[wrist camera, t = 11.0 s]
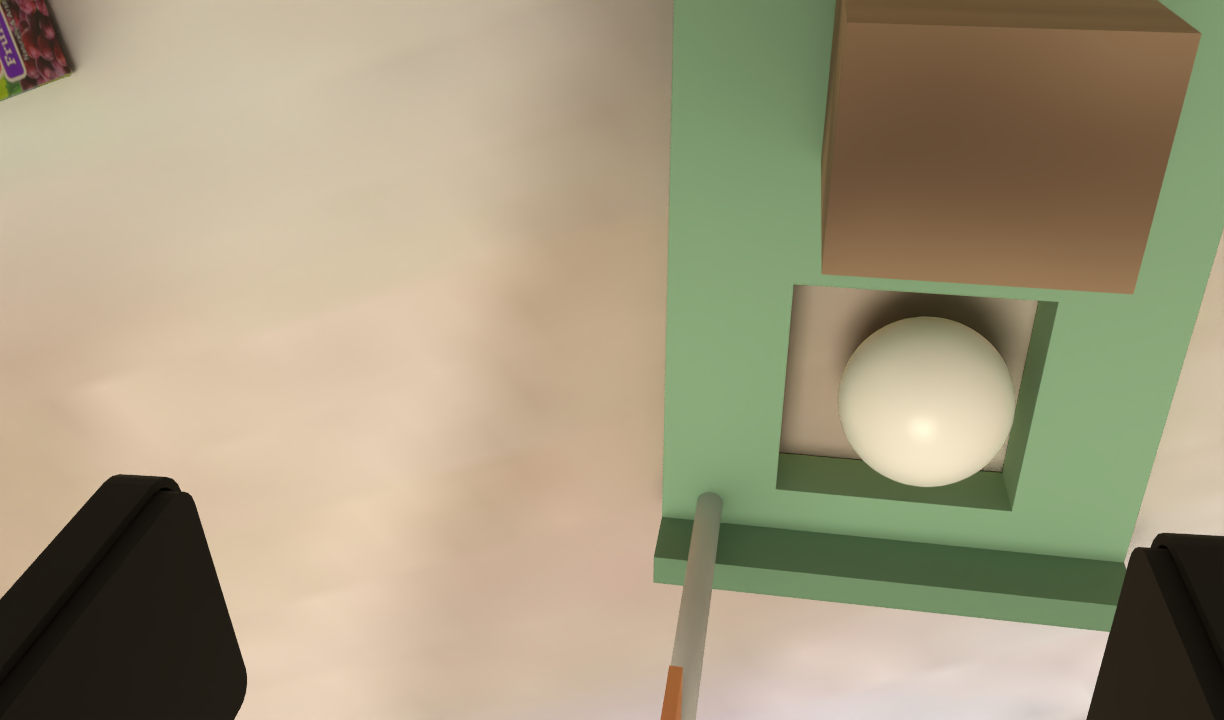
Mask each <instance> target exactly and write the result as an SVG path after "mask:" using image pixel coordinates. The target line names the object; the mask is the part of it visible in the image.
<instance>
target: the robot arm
mask: <svg viewBox="0 0 1224 720" xmlns="http://www.w3.org/2000/svg"><path fill="white" fill-rule="evenodd" d="M246 687H247V673H246V668H245V665H244V662H243V658H242V655H241V652H240V649H239V645H238V642H237V639H236V636H235V632H234V629H233V626H232V623H231V619H230V616H229V613H228V609H227V606H226V603H225V600H224V596H223V593H222V590H221V587H220V583H219V580H218V577H217V574H216V570H215V567H214V564H213V561H212V557H211V554H210V551H209V547H208V544H207V541H206V538H205V534H204V531H203V528H202V525H201V521H200V518H199V515H198V512H197V508H196V505H195V502H194V500H193V498H192V496H191V495H190V494H189V493H186V492H181V490H180V488H179V485H178V484H177V483H176V482H175V481H174V480H173V479H172V478H168V477H157V476H140V475H122V474H119V475H115V476H112V477H110V478H109V479H108V480H107V481H105V482H104V483H103V484H102V486H101V487H100V488H99V489H98V490H97V491H96V492H95V493H94V495H93V496H92V497H91V498H90V499H89V500H88V501H87V502H86V504H85V505H84V506H83V507H82V508H81V509H80V510H79V511H78V513H77V514H76V515H75V516H74V517H73V518H72V519H71V520H70V522H69V523H68V524H67V525H66V526H65V527H64V528H63V529H62V531H61V532H60V533H59V534H58V535H57V536H56V537H55V538H54V540H53V541H52V542H51V543H50V544H49V545H48V546H47V547H46V549H45V550H44V551H43V552H42V553H41V554H40V555H39V556H38V558H37V559H36V560H35V561H34V562H33V563H32V564H31V566H30V567H29V568H28V569H27V570H26V571H25V572H24V573H23V575H22V576H21V577H20V578H19V579H18V580H17V581H16V582H15V584H14V585H13V586H12V587H11V588H10V589H9V590H8V591H7V593H6V594H5V595H4V596H3V597H2V598H1V599H0V720H234V719H235V717H236V715H237V713H238V711H239V710H240V708H241V705H242V703H243V701H244V697H245V694H246ZM1086 720H1224V536H1211V535H1193V534H1175V533H1161V534H1158V535H1157V536H1156V537H1155V539H1154V540H1153V543H1152V545H1151V548H1144V547H1138V548H1135V549H1134V550H1133V552H1132V554H1131V556H1130V559H1129V563H1128V567H1127V570H1126V574H1125V578H1124V581H1123V585H1122V589H1121V593H1120V596H1119V600H1118V604H1117V608H1116V611H1115V615H1114V619H1113V622H1112V626H1111V630H1110V634H1109V637H1108V641H1107V645H1106V649H1105V652H1104V656H1103V660H1102V663H1101V667H1100V671H1099V675H1098V678H1097V682H1096V686H1095V690H1094V693H1093V697H1092V701H1091V704H1090V708H1089V712H1088V716H1087V719H1086Z"/></svg>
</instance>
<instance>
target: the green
mask: <svg viewBox="0 0 1224 720" xmlns="http://www.w3.org/2000/svg"><path fill="white" fill-rule="evenodd" d="M1158 1H1159V2H1160V3H1162V4H1163V5H1164V6H1166V7H1167V8H1168V9H1170V10H1171V11H1172V12H1174V13H1175V14H1176V15H1178V16H1179V17H1180V18H1182V19H1183V20H1184V21H1186V22H1187V23H1188V24H1190V25H1191V26H1192V27H1194V28H1195V29H1196V30H1198V31H1199V32H1200V33H1202V34H1201V38H1200V42H1199V46H1198V50H1197V53H1196V57H1195V61H1194V65H1193V69H1192V72H1191V76H1190V80H1189V84H1188V88H1187V92H1186V95H1185V99H1184V103H1183V107H1182V111H1181V115H1180V118H1179V122H1178V126H1177V130H1176V134H1175V137H1174V141H1173V145H1172V149H1171V153H1170V157H1169V160H1168V164H1167V168H1166V172H1165V176H1164V179H1163V183H1162V187H1161V191H1160V195H1159V199H1158V202H1157V206H1156V210H1155V214H1154V218H1153V221H1152V225H1151V229H1150V233H1149V237H1148V241H1147V244H1146V248H1145V252H1144V256H1143V260H1142V264H1141V267H1140V271H1139V275H1138V279H1137V283H1136V286H1135V290H1134V294H1118V293H1102V292H1087V291H1071V290H1056V289H1040V288H1025V287H1009V286H994V285H978V284H963V283H948V282H932V281H917V280H901V279H886V278H870V277H855V276H839V275H824V274H822V265H821V154H822V144H823V133H824V123H825V112H826V102H827V91H828V81H829V70H830V60H831V49H832V39H833V28H834V17H835V7H836V0H674V21H673V64H672V108H671V152H670V195H669V239H668V283H667V327H666V370H665V414H664V458H663V501H662V520H661V525H660V530H659V535H658V540H657V545H656V550H655V555H654V581H653V582H654V583H663V584H672V585H682V586H684V587H683V593H682V599H681V605H680V611H679V618H678V624H677V630H676V636H675V643H674V649H673V655H672V661H671V666H669V672H668V678H667V684H666V690H665V696H664V702H663V709H662V715H661V720H695V718H696V710H697V703H698V695H699V687H700V679H701V671H702V663H703V655H704V647H705V639H706V631H707V624H708V616H709V608H710V600H711V592H712V589H719V590H728V591H737V592H746V593H755V594H765V595H774V596H783V597H792V598H802V599H811V600H820V601H829V602H839V603H848V604H857V605H866V606H875V607H885V608H894V609H903V610H912V611H922V612H931V613H940V614H949V615H959V616H968V617H977V618H986V619H995V620H1005V621H1014V622H1023V623H1032V624H1042V625H1051V626H1060V627H1069V628H1079V629H1088V630H1097V631H1106V632H1110V630H1111V626H1112V622H1113V619H1114V615H1115V611H1116V608H1117V604H1118V600H1119V596H1120V593H1121V589H1122V585H1123V581H1124V578H1125V574H1126V567H1125V565H1124V560H1125V557H1126V553H1127V550H1128V547H1129V543H1130V540H1131V537H1132V533H1133V530H1134V527H1135V523H1136V520H1137V517H1138V513H1139V510H1140V506H1141V503H1142V500H1143V496H1144V493H1145V490H1146V486H1147V483H1148V480H1149V476H1150V473H1151V470H1152V466H1153V463H1154V459H1155V456H1156V453H1157V449H1158V446H1159V443H1160V439H1161V436H1162V433H1163V429H1164V426H1165V423H1166V419H1167V416H1168V412H1169V409H1170V406H1171V402H1172V399H1173V396H1174V392H1175V389H1176V386H1177V382H1178V379H1179V376H1180V372H1181V369H1182V365H1183V362H1184V359H1185V355H1186V352H1187V349H1188V345H1189V342H1190V339H1191V335H1192V332H1193V329H1194V325H1195V322H1196V319H1197V315H1198V312H1199V308H1200V305H1201V302H1202V298H1203V295H1204V292H1205V288H1206V285H1207V282H1208V278H1209V275H1210V272H1211V268H1212V265H1213V261H1214V258H1215V255H1216V251H1217V248H1218V245H1219V241H1220V238H1221V235H1222V231H1223V228H1224V0H1158ZM794 284H796V285H811V286H826V287H841V288H856V289H872V290H887V291H902V292H917V293H932V294H947V295H962V296H977V297H992V298H1007V299H1022V300H1037V301H1039V302H1038V307H1037V312H1036V316H1035V321H1034V326H1033V330H1032V335H1031V340H1030V344H1029V349H1028V354H1027V358H1026V363H1025V368H1024V372H1023V377H1022V382H1021V386H1020V391H1019V396H1018V400H1017V405H1016V410H1015V414H1014V419H1013V424H1012V428H1011V433H1010V438H1009V442H1008V447H1007V452H1006V456H1005V461H1004V466H1003V470H1002V473H998V472H987V471H978V472H977V473H975V474H973V475H972V476H970V477H968V478H966V479H963V480H961V481H959V482H956V483H952V484H948V485H944V486H935V487H919V486H912V485H906V484H903V483H900V482H897V481H894V480H891V479H889V478H887V477H885V476H883V475H881V474H880V473H878V472H877V471H875V470H874V469H872V468H871V467H870V466H869V465H868V464H866V463H865V462H864V461H863V460H853V459H841V458H830V457H819V456H808V455H796V454H785V453H779V446H780V434H781V423H782V411H783V400H784V388H785V377H786V365H787V354H788V343H789V331H790V320H791V308H792V297H793V285H794Z"/></svg>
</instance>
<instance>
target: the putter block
mask: <svg viewBox="0 0 1224 720" xmlns="http://www.w3.org/2000/svg"><path fill="white" fill-rule="evenodd" d="M1201 34H1202V33H1200V32H1199V31H1198V30H1196V29H1195V28H1194V27H1192V26H1191V25H1190V24H1188V23H1187V22H1186V21H1184V20H1183V19H1182V18H1180V17H1179V16H1178V15H1176V14H1175V13H1174V12H1172V11H1171V10H1170V9H1168V8H1167V7H1166V6H1164V5H1163V4H1162V3H1160V2H1159V1H1158V0H836V7H835V17H834V28H833V39H832V49H831V60H830V70H829V81H828V91H827V102H826V112H825V123H824V133H823V144H822V154H821V265H822V274H824V275H839V276H855V277H870V278H886V279H901V280H917V281H932V282H948V283H963V284H978V285H994V286H1009V287H1025V288H1040V289H1056V290H1071V291H1087V292H1102V293H1118V294H1134V290H1135V286H1136V283H1137V279H1138V275H1139V271H1140V267H1141V264H1142V260H1143V256H1144V252H1145V248H1146V244H1147V241H1148V237H1149V233H1150V229H1151V225H1152V221H1153V218H1154V214H1155V210H1156V206H1157V202H1158V199H1159V195H1160V191H1161V187H1162V183H1163V179H1164V176H1165V172H1166V168H1167V164H1168V160H1169V157H1170V153H1171V149H1172V145H1173V141H1174V137H1175V134H1176V130H1177V126H1178V122H1179V118H1180V115H1181V111H1182V107H1183V103H1184V99H1185V95H1186V92H1187V88H1188V84H1189V80H1190V76H1191V72H1192V69H1193V65H1194V61H1195V57H1196V53H1197V50H1198V46H1199V42H1200V38H1201Z"/></svg>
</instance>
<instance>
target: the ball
mask: <svg viewBox="0 0 1224 720" xmlns="http://www.w3.org/2000/svg"><path fill="white" fill-rule="evenodd" d="M838 410H839V416H840V421H841V424H842V427H843V430H844V433H845V435H846V437H847V439H848V441H849V443H850V445H851V446H852V448H853V449H854V450H855V452H856V453H857V454H858V455H859V456H860V458H861V459H862V460H863V461H864V462H865V463H866V464H868V465H869V466H870V467H871V468H872V469H874V470H875V471H877V472H878V473H880V474H881V475H883V476H885V477H887V478H889V479H891V480H894V481H897V482H900V483H903V484H906V485H912V486H919V487H935V486H944V485H948V484H952V483H956V482H959V481H961V480H963V479H966V478H968V477H970V476H972V475H973V474H975V473H977V472H978V471H980V470H981V469H982V468H983V467H985V466H986V465H987V464H988V463H989V462H990V461H991V460H992V459H993V458H994V457H995V456H996V455H997V454H998V452H999V451H1000V449H1001V448H1002V447H1003V445H1004V443H1005V441H1006V439H1007V437H1008V435H1009V433H1010V430H1011V427H1012V424H1013V419H1014V414H1015V392H1014V386H1013V382H1012V378H1011V375H1010V373H1009V370H1008V368H1007V365H1006V364H1005V362H1004V360H1003V358H1002V357H1001V355H1000V354H999V353H998V352H997V350H996V349H995V348H994V346H993V345H992V344H991V343H990V342H989V341H988V340H986V339H985V338H984V337H983V336H982V335H980V334H979V333H977V332H976V331H975V330H973V329H971V328H969V327H967V326H965V325H963V324H961V323H958V322H955V321H952V320H949V319H945V318H939V317H927V316H924V317H913V318H906V319H902V320H899V321H896V322H893V323H891V324H888V325H886V326H884V327H882V328H881V329H879V330H877V331H876V332H874V333H873V334H872V335H870V336H869V337H868V338H866V339H865V340H864V341H863V342H862V343H861V344H860V345H859V346H858V348H857V349H856V350H855V352H854V353H853V354H852V356H851V357H850V359H849V361H848V363H847V364H846V366H845V369H844V372H843V374H842V377H841V381H840V386H839V392H838Z"/></svg>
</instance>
